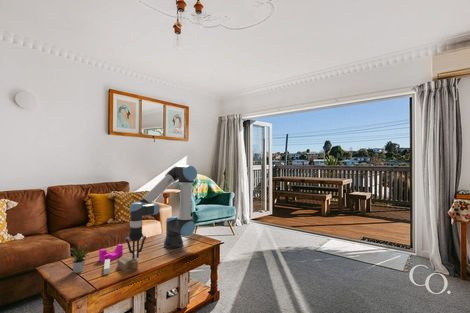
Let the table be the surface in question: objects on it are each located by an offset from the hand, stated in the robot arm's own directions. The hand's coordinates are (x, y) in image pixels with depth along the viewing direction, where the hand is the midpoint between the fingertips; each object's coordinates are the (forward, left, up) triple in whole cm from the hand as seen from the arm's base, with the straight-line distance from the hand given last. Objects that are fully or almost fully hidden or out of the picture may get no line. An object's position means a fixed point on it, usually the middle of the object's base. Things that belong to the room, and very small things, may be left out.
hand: (135, 262), depth 165 cm
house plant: (+34, -2, -2) cm, 34 cm away
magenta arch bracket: (+15, -19, -2) cm, 24 cm away
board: (+17, 0, -2) cm, 17 cm away
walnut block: (+5, +2, -2) cm, 5 cm away
